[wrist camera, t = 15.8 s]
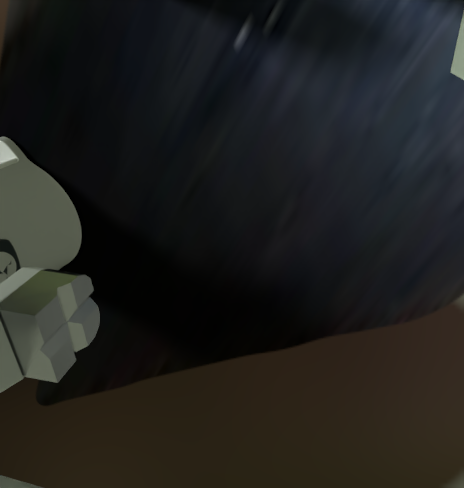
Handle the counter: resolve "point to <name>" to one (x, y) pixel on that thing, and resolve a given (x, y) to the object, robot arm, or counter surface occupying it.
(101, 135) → the counter surface
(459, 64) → the notch board
